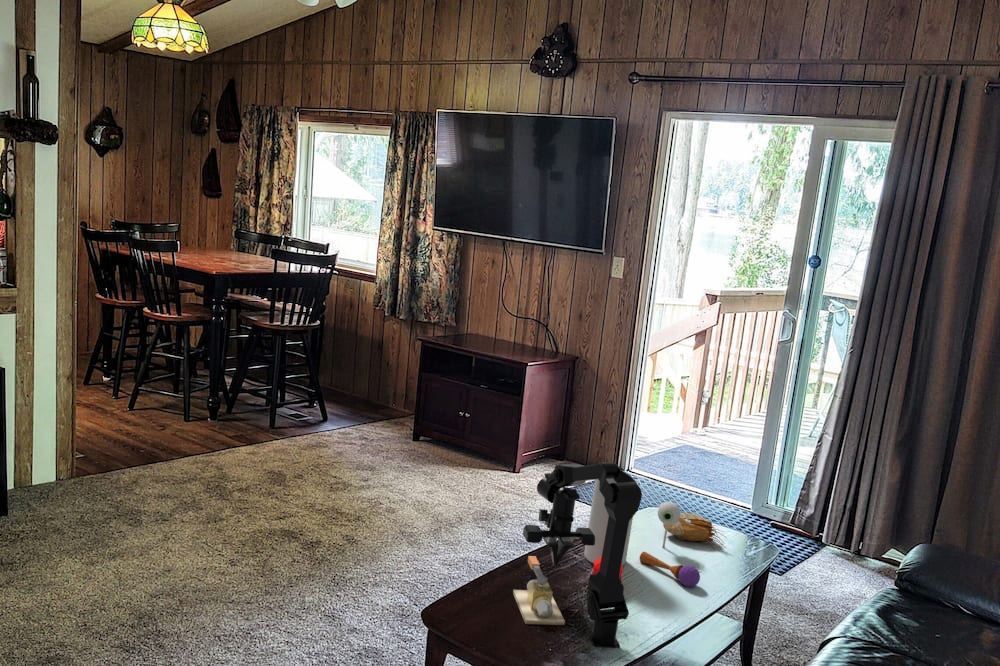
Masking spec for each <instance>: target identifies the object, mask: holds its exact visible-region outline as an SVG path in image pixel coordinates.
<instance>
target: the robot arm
mask: <svg viewBox="0 0 1000 666" xmlns="http://www.w3.org/2000/svg"><path fill="white" fill-rule="evenodd" d="M597 479H598V480H599V481H600V484H599V490H600V492H601V494H602V495H603V497H604V498H605V501H604V506H605V508H606V510H607V513H608V515H609V518H608V524H607V529H606V535H605V540H604V546H603V552H602V557H601V563H600V569H599V572H598V573H597V574H593V573H591V574H590V575H589V576H588V584H587V587H586V590H587V593H586V606H587V607H586V609H587V610H586V611H587V615H588V616H589V619H590V620H592V621H593V626H592V630H587V632H586V633H587V636H588V638H589V639H590V642H591V643H592V645H593V646H594V647H596V648H597V647H598V648H601V647H602V648H603V647H604V648H608V647H609V648H620V646H621V645H620V642H619V641H618V639H617V632H618V626H619V621H620V620H627V619H628V617H629V615H630V612H629V608H628V606H627V601H626V599H625V595H624V589H625V586H624V584H623V581H622V579H620V569H621V564H622V558H623V553H624V547H625V542H626V536H627V531H628V525H629V521H630V519H631V518H632V517H634V516H635V515H636V513H638V510H639V507H640V505H641V502H642V497H643V492H642V489H641V487H640V486H639V484H638V485H637V483H636V482H635V480H636V479H635V478H633V477H632V476H631V475H629V474H628V473H626V472H625V471H623V470H622V469H621V467H620V466H619V465H618V464H617V463H615V462H599V463H597V464H587V465H582V464H578V463H576V464H575V463H574V464H573V463H572V464H571V463H570V464H569V463H568V464H557V465H555V466H554V469H553V470H552V472H551V473H550V472H548V473H547V472H545V474H544V477H543V478H541V479H540V480H539V481H538V483H537V484H536V491H537V493H538V495H540V496H541V497H543V499H545V500H546V501H547V502H548V503H551V504H552V506H551V509H550V513H549V512H548V510H547V509H539V513H538V521H539V522H544V526H546V528H547V529H549V530H546V529H541V528H540V526H539V525H536V524H534V525H533V524H526V525H525V526H524V527H523V530H522V535H523V537H524V540H525V541H526V543H529V544H530V543H531V544H532V543H533V544H539V543H541V542H542V541H543V540H544V543H545V544H546V546H547V547H549V550H550V556H551V561H552V565H553V566H555V567H557V566H558V565H559V564H560V562H561V560H562V559H563V557H564V556H565V555H566V553H567V552H568V551H570V549H571V548H574V547H575V545H574V543H573V541H574V540H580V542H581V543H582V544H583V545H584V546H585V545H591V546H593V545H595V535H594V534H593V532H592V531H591V530H590V528H588V527H576V529H575V531H572V526H573V522H574V519H575V518H574V511H575V504H576V500H580V499H581V496H580V494H578V491H577V489H575V488H573V489H571V488H570V487H579V486H581V485H584V484H585V483H586V482H587V481H595V480H597ZM606 479H614V481H615V482H617V483H611V484H609V483H608V481H607V480H606ZM634 479H635V480H634ZM557 540H558V541H557Z"/></svg>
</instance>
